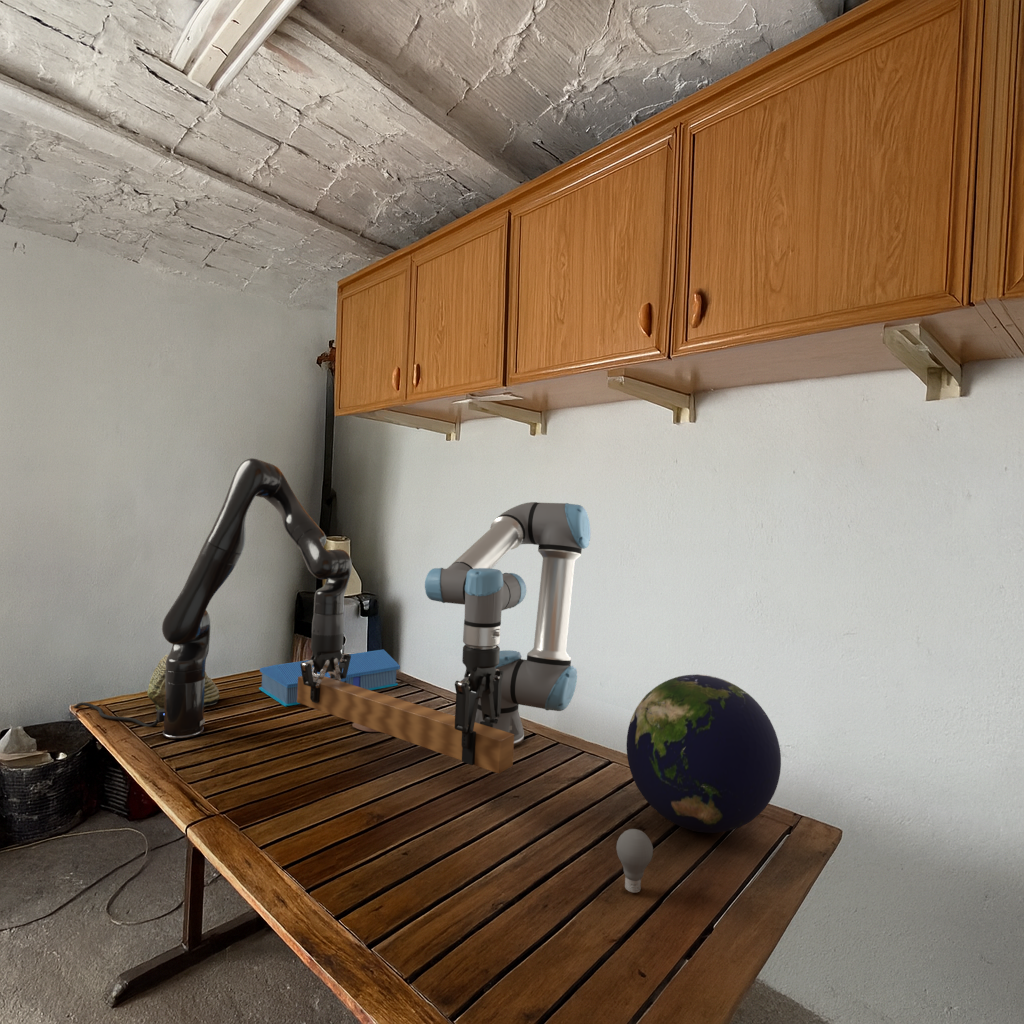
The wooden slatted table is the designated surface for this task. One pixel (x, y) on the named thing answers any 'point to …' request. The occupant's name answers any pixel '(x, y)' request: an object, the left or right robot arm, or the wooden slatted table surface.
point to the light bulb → (634, 857)
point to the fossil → (158, 687)
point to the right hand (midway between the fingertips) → (476, 758)
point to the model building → (362, 672)
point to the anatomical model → (363, 728)
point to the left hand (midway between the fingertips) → (324, 699)
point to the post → (409, 722)
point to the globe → (703, 753)
